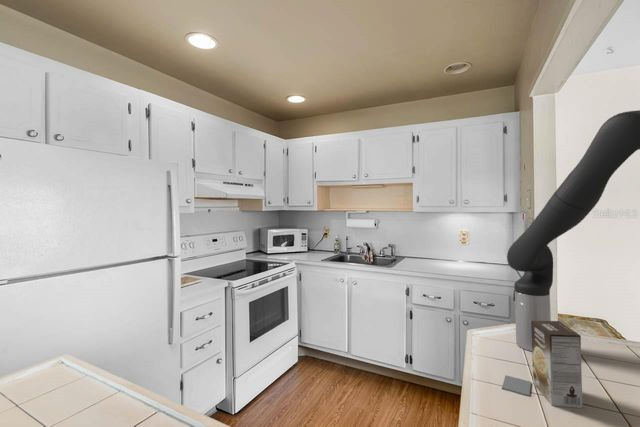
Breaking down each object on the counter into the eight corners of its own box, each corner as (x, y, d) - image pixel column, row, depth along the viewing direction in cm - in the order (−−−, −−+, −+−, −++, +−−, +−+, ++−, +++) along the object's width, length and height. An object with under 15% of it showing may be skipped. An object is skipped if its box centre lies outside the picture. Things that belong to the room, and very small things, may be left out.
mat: (505, 376, 80) (505, 375, 80) (531, 382, 76) (531, 381, 76) (502, 388, 74) (502, 387, 74) (529, 396, 71) (529, 395, 71)
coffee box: (531, 383, 76) (529, 319, 76) (560, 385, 75) (558, 320, 75) (551, 406, 67) (549, 333, 67) (585, 409, 66) (582, 335, 66)
